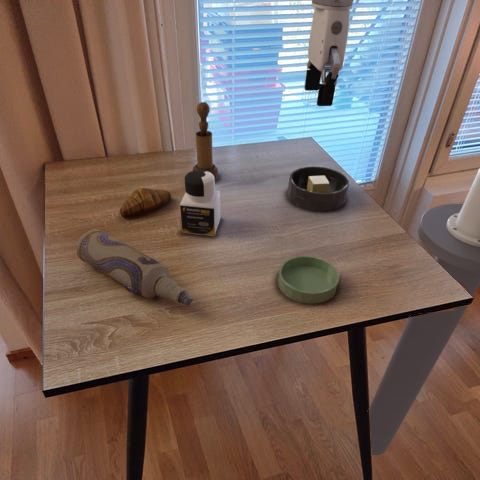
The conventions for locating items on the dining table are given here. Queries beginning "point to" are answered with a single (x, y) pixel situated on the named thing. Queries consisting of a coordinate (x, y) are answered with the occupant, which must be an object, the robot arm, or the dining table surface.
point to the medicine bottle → (200, 204)
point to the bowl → (317, 200)
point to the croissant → (144, 201)
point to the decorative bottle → (129, 267)
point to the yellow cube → (318, 184)
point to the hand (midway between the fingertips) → (317, 97)
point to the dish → (308, 279)
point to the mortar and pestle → (204, 143)
